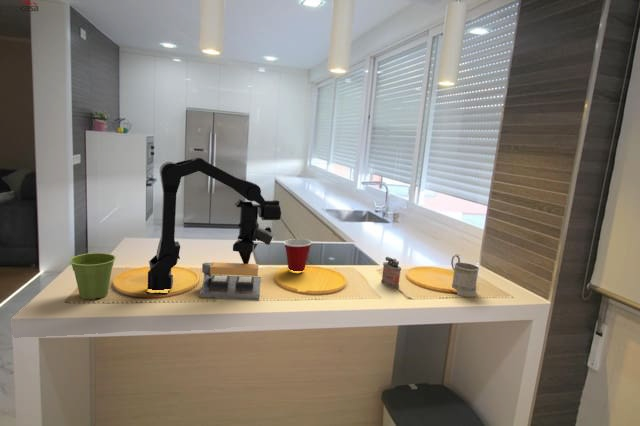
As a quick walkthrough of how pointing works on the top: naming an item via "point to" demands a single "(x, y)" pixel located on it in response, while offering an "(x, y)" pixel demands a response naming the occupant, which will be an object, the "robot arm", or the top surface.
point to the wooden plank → (230, 269)
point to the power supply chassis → (231, 287)
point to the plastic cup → (297, 253)
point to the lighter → (391, 273)
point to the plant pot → (93, 274)
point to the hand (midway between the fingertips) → (246, 265)
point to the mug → (464, 278)
